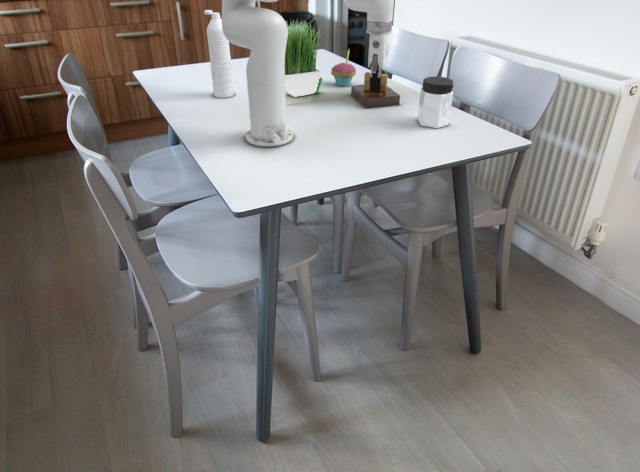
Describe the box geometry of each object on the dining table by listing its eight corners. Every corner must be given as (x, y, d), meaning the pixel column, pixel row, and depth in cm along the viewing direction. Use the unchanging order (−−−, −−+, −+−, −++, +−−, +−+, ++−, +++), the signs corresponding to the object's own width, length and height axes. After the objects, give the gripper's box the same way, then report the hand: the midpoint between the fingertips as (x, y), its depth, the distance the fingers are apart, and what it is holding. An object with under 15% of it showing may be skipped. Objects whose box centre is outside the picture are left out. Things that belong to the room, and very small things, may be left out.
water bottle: (237, 95, 164) (230, 12, 150) (220, 99, 160) (211, 15, 146) (223, 89, 169) (215, 9, 155) (206, 93, 166) (196, 11, 152)
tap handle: (386, 90, 158) (387, 73, 156) (385, 92, 157) (387, 75, 154) (364, 88, 160) (365, 71, 157) (363, 90, 158) (364, 73, 155)
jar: (431, 130, 138) (437, 86, 131) (411, 121, 143) (415, 79, 137) (454, 123, 142) (461, 81, 136) (433, 115, 148) (439, 74, 141)
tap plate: (399, 105, 156) (400, 95, 154) (366, 108, 153) (366, 98, 151) (382, 91, 167) (383, 82, 165) (350, 94, 164) (351, 85, 163)
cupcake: (346, 79, 179) (347, 44, 172) (360, 85, 173) (362, 49, 166) (326, 83, 175) (326, 47, 169) (339, 89, 169) (340, 52, 162)
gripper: (388, 33, 141) (383, 97, 151) (395, 22, 154) (390, 82, 164) (362, 31, 142) (359, 95, 152) (370, 21, 155) (367, 81, 165)
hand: (375, 88), depth 158 cm, fingers closed on tap handle, 2 cm apart
